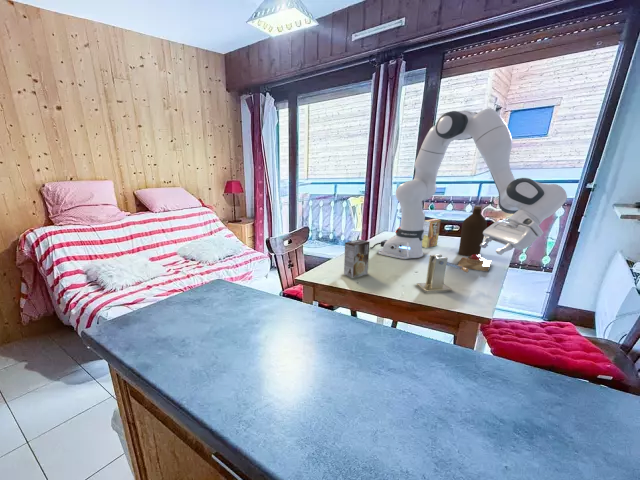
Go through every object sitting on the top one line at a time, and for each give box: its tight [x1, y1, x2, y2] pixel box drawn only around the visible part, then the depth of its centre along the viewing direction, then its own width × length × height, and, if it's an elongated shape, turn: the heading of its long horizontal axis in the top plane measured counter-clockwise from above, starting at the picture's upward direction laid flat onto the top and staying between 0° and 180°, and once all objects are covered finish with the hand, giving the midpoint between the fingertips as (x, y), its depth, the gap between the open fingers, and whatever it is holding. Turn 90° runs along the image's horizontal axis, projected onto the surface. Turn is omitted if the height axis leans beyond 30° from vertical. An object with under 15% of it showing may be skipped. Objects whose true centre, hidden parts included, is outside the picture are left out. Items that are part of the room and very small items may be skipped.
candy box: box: [422, 218, 442, 249], centre depth 186 cm, size 9×4×15 cm, turn 116°
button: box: [471, 254, 482, 260], centre depth 153 cm, size 4×4×2 cm
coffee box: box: [343, 239, 371, 278], centre depth 149 cm, size 9×6×16 cm
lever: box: [432, 256, 470, 273], centre depth 129 cm, size 13×6×2 cm, turn 90°
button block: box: [457, 256, 492, 272], centre depth 154 cm, size 12×10×4 cm
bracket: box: [416, 253, 452, 293], centre depth 130 cm, size 10×8×14 cm
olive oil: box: [458, 205, 488, 257], centre depth 167 cm, size 11×11×25 cm
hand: (489, 250), depth 127 cm, fingers open, 8 cm apart
